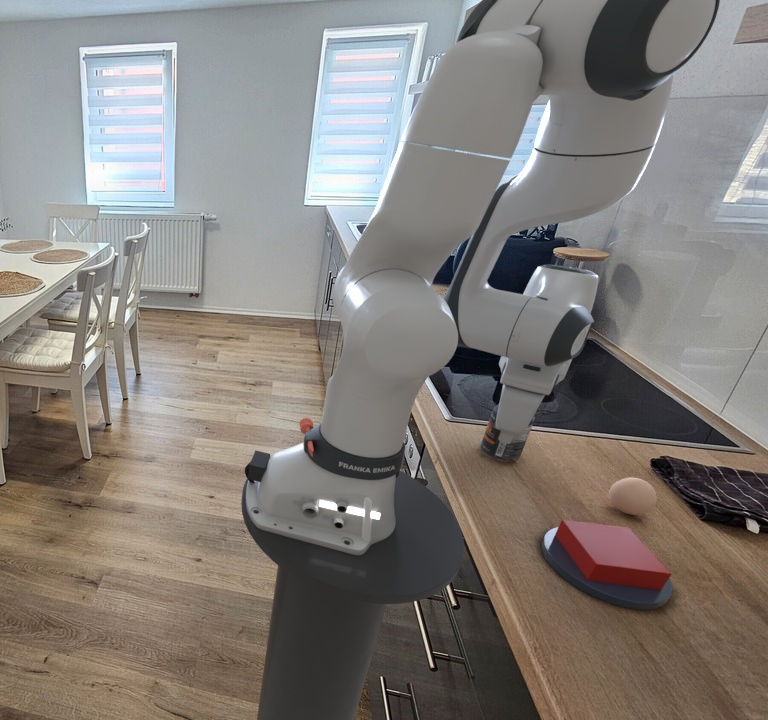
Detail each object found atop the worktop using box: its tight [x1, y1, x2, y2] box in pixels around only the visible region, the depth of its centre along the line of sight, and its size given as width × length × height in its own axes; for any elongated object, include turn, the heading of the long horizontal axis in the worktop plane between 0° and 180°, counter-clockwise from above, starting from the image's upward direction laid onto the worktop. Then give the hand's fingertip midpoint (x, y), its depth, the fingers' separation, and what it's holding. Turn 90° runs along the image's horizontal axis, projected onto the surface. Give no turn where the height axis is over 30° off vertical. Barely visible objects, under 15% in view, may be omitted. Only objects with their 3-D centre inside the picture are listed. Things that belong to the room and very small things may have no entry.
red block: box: [555, 519, 672, 590], centre depth 66 cm, size 8×8×3 cm
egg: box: [608, 476, 658, 516], centre depth 75 cm, size 5×5×6 cm
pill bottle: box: [480, 403, 536, 463], centre depth 87 cm, size 6×6×11 cm
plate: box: [540, 526, 674, 611], centre depth 67 cm, size 13×13×1 cm
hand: (507, 431), depth 88 cm, fingers closed on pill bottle, 6 cm apart
